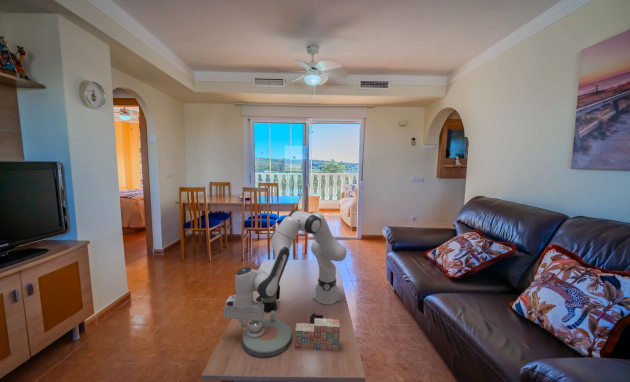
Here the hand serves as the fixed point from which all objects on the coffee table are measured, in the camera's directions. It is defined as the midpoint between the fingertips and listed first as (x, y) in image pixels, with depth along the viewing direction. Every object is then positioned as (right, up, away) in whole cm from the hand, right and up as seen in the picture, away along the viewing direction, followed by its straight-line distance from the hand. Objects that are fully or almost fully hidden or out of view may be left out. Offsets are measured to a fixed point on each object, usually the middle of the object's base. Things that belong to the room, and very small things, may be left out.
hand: (244, 326), depth 129 cm
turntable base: (+12, -6, -1) cm, 14 cm away
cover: (+6, -3, 0) cm, 7 cm away
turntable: (+12, -5, -1) cm, 13 cm away
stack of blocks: (+37, -8, -3) cm, 38 cm away
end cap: (+37, -7, +8) cm, 38 cm away
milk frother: (+5, -3, +30) cm, 31 cm away
